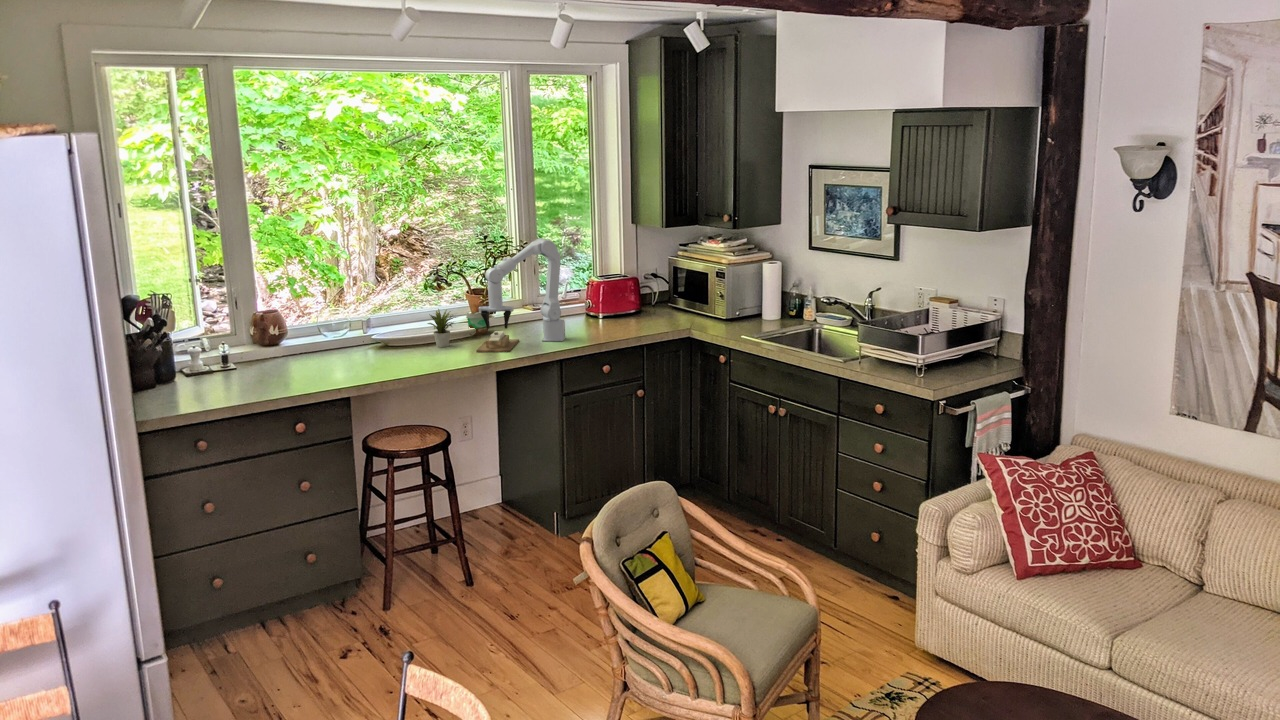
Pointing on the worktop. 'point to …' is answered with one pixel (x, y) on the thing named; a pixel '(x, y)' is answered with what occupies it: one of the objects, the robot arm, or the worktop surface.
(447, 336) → the house plant
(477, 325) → the food container
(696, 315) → the worktop surface
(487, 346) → the chassis board
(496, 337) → the servo block
